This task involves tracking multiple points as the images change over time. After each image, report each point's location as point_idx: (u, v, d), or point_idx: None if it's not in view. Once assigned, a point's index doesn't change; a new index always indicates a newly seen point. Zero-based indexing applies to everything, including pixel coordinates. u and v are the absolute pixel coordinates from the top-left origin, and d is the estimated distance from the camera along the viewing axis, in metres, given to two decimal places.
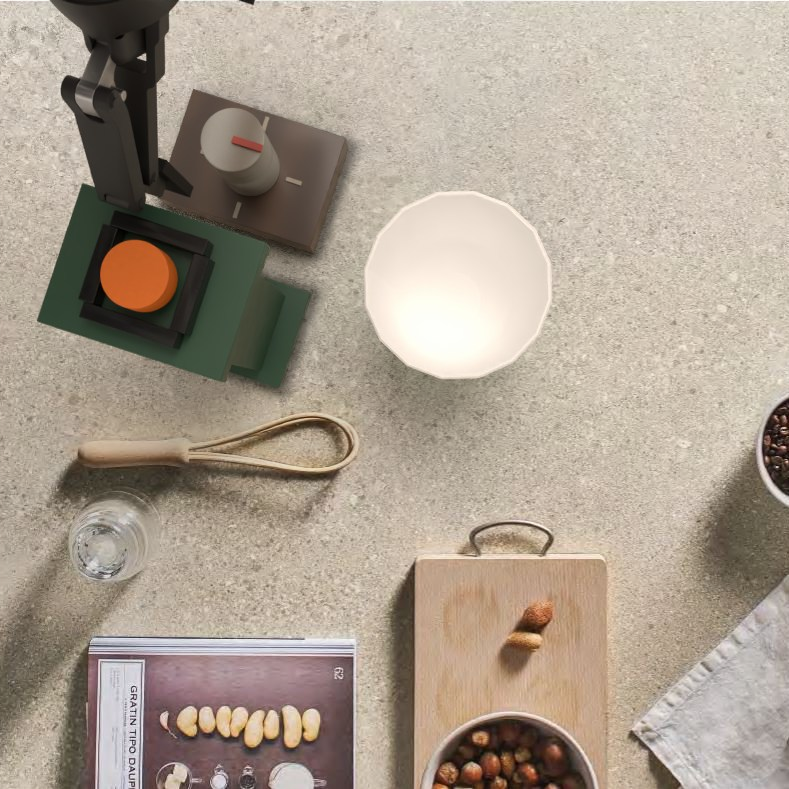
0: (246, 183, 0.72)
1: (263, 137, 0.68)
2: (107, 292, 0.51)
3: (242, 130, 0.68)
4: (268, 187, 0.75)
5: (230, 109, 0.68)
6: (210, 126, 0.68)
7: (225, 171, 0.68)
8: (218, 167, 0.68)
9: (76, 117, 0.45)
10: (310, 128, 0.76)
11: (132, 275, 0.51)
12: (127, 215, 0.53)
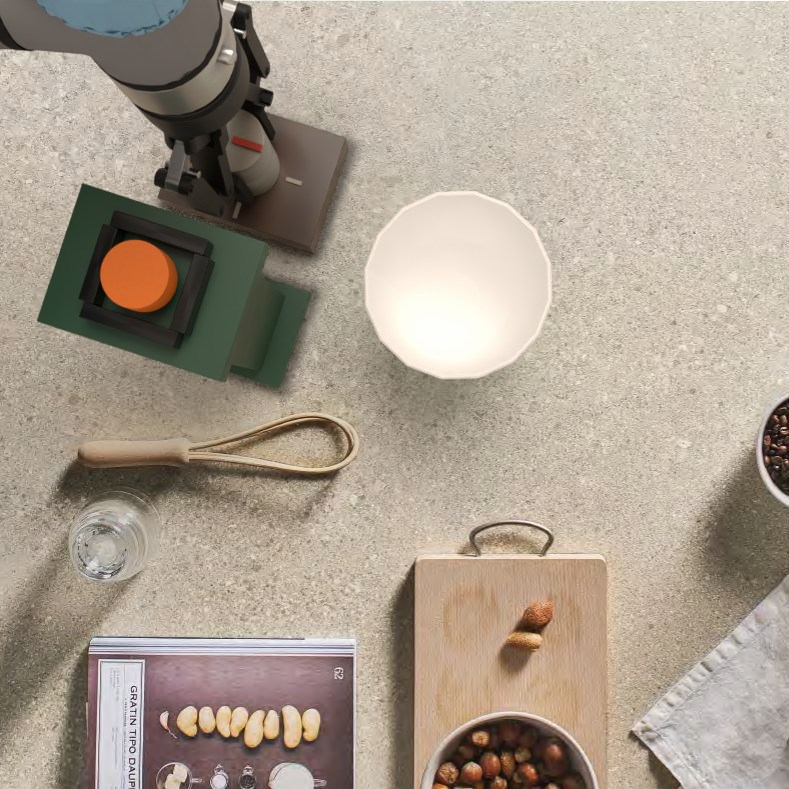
0: (246, 183, 0.72)
1: (263, 137, 0.68)
2: (107, 292, 0.51)
3: (242, 130, 0.68)
4: (268, 188, 0.75)
5: None
6: None
7: None
8: None
9: None
10: (310, 128, 0.76)
11: (132, 275, 0.51)
12: (127, 215, 0.53)
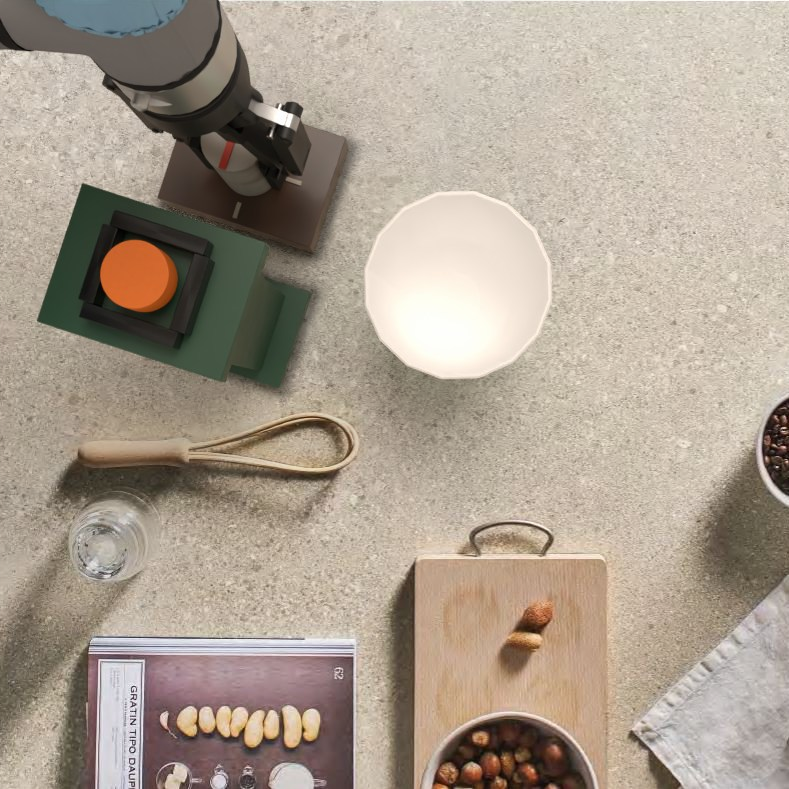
0: None
1: (234, 170, 0.68)
2: (107, 292, 0.51)
3: (241, 150, 0.68)
4: None
5: None
6: None
7: None
8: None
9: None
10: (310, 128, 0.76)
11: (132, 275, 0.51)
12: (127, 215, 0.53)
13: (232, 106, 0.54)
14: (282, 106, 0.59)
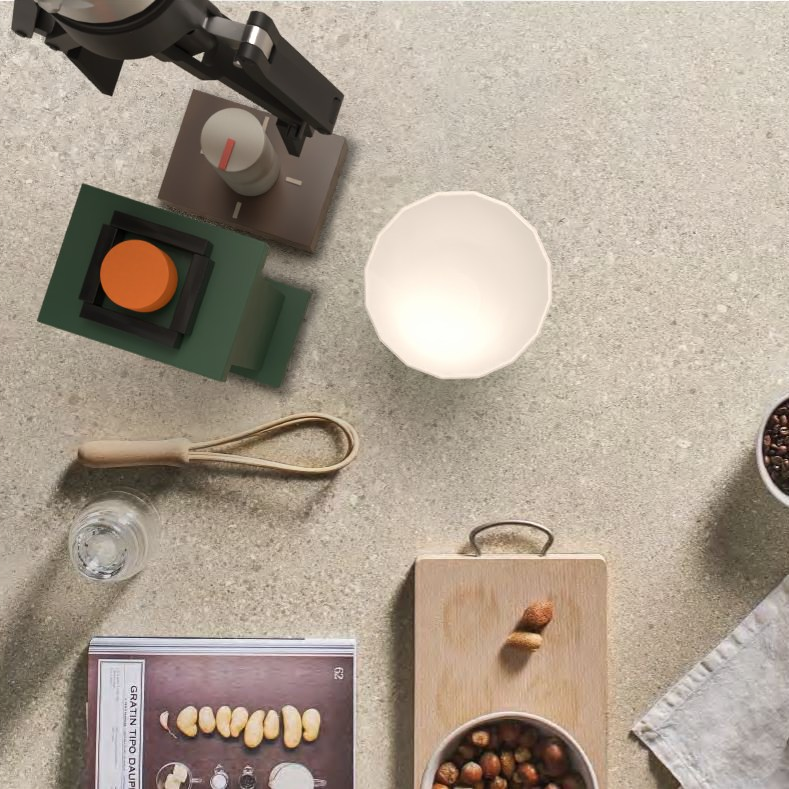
0: None
1: (234, 170, 0.68)
2: (107, 292, 0.51)
3: (241, 150, 0.68)
4: None
5: (262, 138, 0.68)
6: (246, 117, 0.68)
7: (202, 132, 0.68)
8: (205, 125, 0.68)
9: None
10: None
11: (132, 275, 0.51)
12: (127, 215, 0.53)
13: (179, 19, 0.41)
14: None
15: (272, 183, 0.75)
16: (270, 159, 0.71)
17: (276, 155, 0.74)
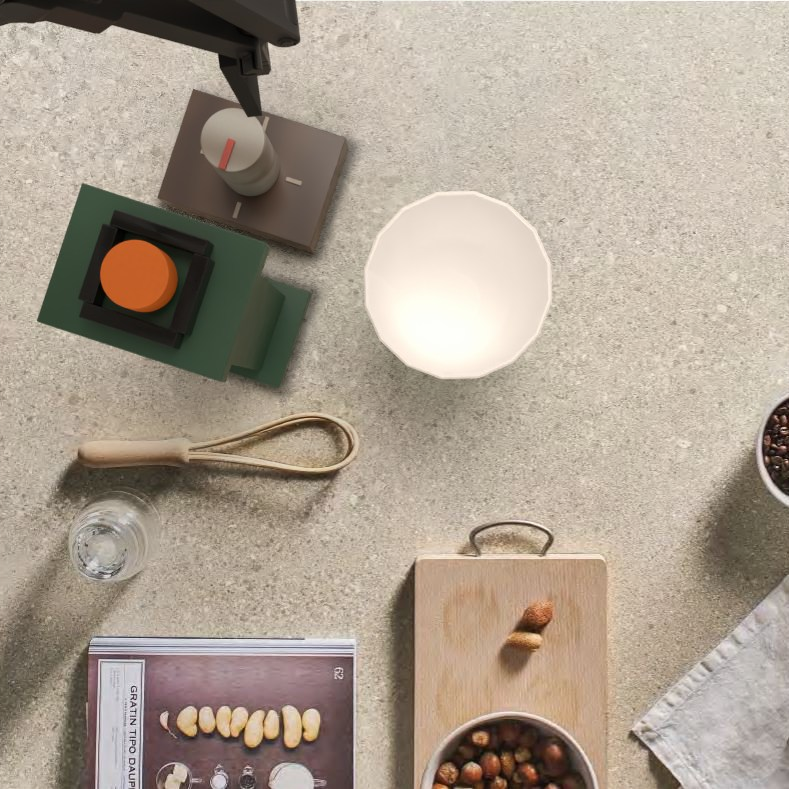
0: None
1: (234, 170, 0.68)
2: (107, 292, 0.51)
3: (241, 150, 0.68)
4: None
5: (262, 138, 0.68)
6: (246, 117, 0.68)
7: (202, 132, 0.68)
8: (205, 125, 0.68)
9: None
10: (310, 128, 0.76)
11: (132, 275, 0.51)
12: (127, 215, 0.53)
13: None
14: None
15: (272, 183, 0.75)
16: (270, 159, 0.71)
17: (276, 155, 0.74)
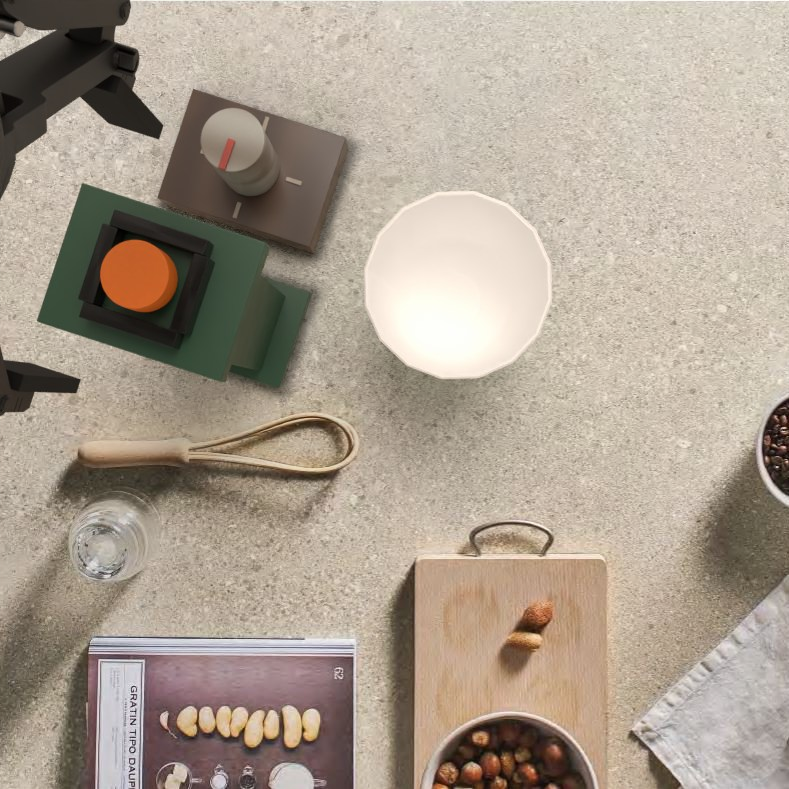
0: None
1: (234, 170, 0.68)
2: (107, 292, 0.51)
3: (241, 150, 0.68)
4: None
5: (262, 138, 0.68)
6: (246, 117, 0.68)
7: (202, 132, 0.68)
8: (205, 125, 0.68)
9: None
10: (310, 128, 0.76)
11: (132, 275, 0.51)
12: (127, 215, 0.53)
13: None
14: None
15: (272, 183, 0.75)
16: (270, 159, 0.71)
17: (276, 155, 0.74)
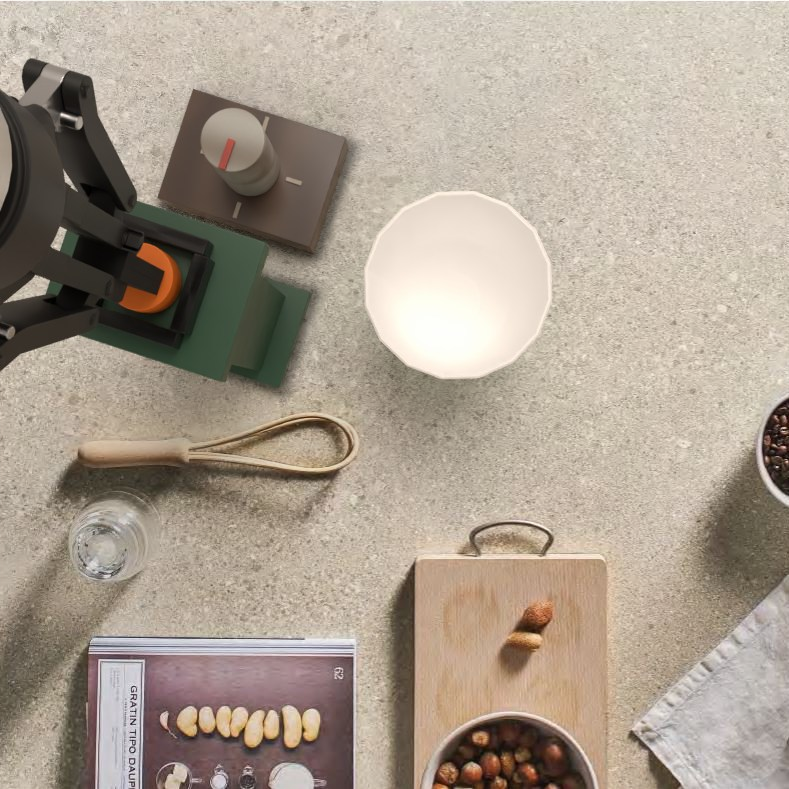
0: None
1: (234, 170, 0.68)
2: None
3: (241, 150, 0.68)
4: None
5: (262, 138, 0.68)
6: (246, 117, 0.68)
7: (202, 132, 0.68)
8: (205, 125, 0.68)
9: None
10: (310, 128, 0.76)
11: None
12: (127, 215, 0.53)
13: (9, 97, 0.30)
14: None
15: (272, 183, 0.75)
16: (270, 159, 0.71)
17: (276, 155, 0.74)
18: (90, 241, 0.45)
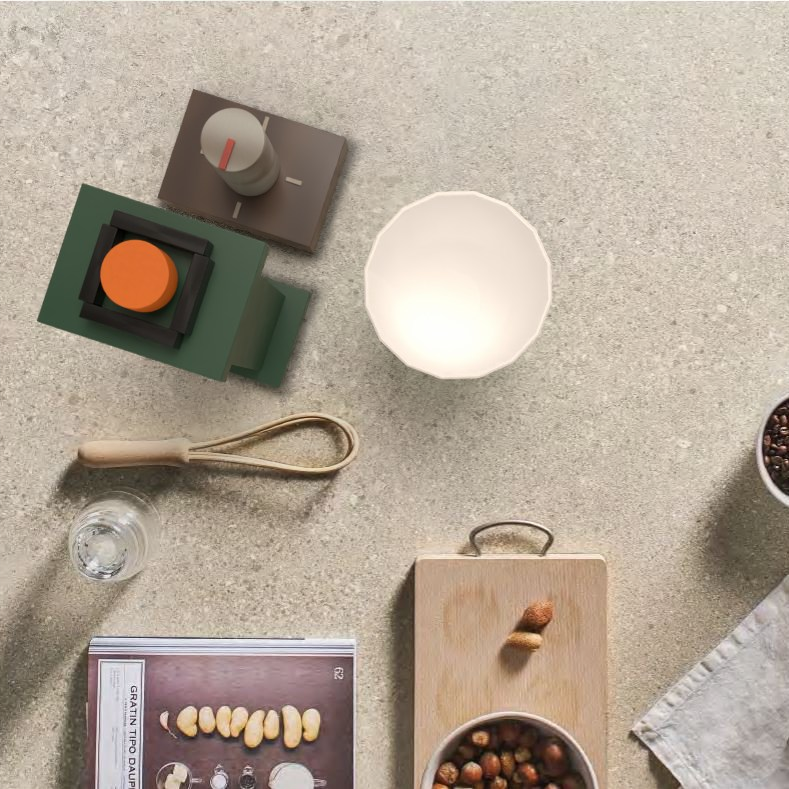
0: None
1: (234, 170, 0.68)
2: (107, 292, 0.51)
3: (241, 150, 0.68)
4: None
5: (262, 138, 0.68)
6: (246, 117, 0.68)
7: (202, 132, 0.68)
8: (205, 125, 0.68)
9: None
10: (310, 128, 0.76)
11: (132, 275, 0.51)
12: (127, 215, 0.53)
13: None
14: None
15: (272, 183, 0.75)
16: (270, 159, 0.71)
17: (276, 155, 0.74)
18: None
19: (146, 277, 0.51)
